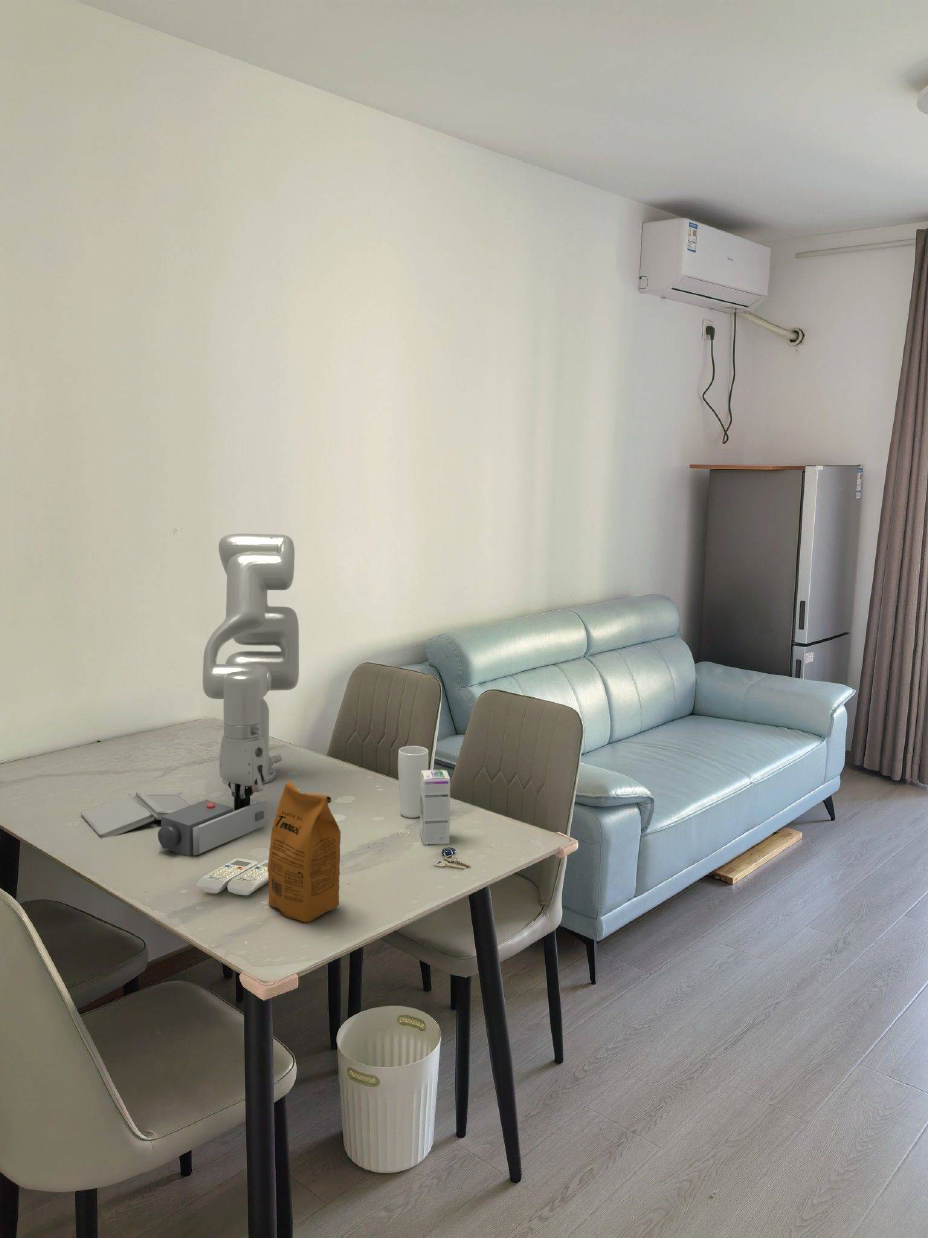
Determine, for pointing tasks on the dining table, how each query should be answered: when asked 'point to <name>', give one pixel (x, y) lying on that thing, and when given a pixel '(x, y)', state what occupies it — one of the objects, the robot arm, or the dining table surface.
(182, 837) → the gray box with knob
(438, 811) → the syrup box
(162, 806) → the gadget
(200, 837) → the side door
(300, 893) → the coffee package
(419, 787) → the drinking glass
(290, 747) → the dining table surface
